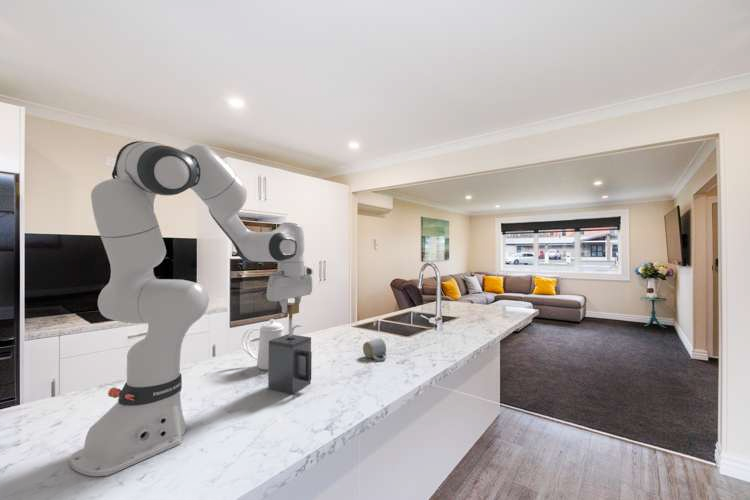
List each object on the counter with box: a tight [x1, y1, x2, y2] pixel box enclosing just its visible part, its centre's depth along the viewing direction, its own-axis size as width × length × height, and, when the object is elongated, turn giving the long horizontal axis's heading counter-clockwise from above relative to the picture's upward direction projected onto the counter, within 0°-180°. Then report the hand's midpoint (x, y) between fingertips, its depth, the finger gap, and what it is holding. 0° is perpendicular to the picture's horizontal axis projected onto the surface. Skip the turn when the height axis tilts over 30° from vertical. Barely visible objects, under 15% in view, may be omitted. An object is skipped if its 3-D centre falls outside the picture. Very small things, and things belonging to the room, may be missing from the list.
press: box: [267, 333, 312, 396], centre depth 114 cm, size 10×13×16 cm
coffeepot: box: [242, 319, 304, 371], centre depth 134 cm, size 11×25×19 cm, turn 84°
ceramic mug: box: [362, 337, 387, 362], centre depth 146 cm, size 11×8×8 cm
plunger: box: [281, 302, 300, 340], centre depth 114 cm, size 7×7×19 cm
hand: (290, 311), depth 114 cm, fingers closed on plunger, 4 cm apart
